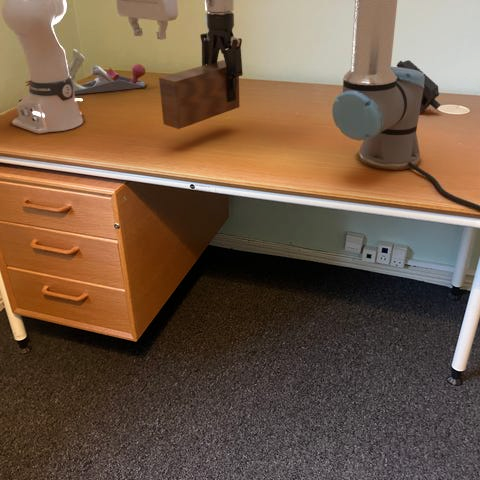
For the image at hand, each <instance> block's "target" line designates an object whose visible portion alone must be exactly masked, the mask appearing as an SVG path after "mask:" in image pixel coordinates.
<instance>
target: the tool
mask: <svg viewBox="0 0 480 480" xmlns="http://www.w3.org/2000/svg"><path fill="white" fill-rule="evenodd" d="M396 67H400V68H408V69H413V70H417V71H420V72H422V73H423V74H424V77H425V80H424V90H423V95H422V101H421V107H420V113H419V114H421V113H423V112H424V111H425V110H427V109H428V108H429V107H430V106H431V107H432V108H433V109H435V110H437V109H439V107H441V105H442V104H441V103H440V102H438V101H437V99H436V98H437V97H439V96H440V92H439V86H438V84H437V83H436V82H434V81H433V79H431V78H430V77H429V76H428V75H427V74H426V73H424V72H423V71H422V69H420V68H419V67H418V66H417V65H416V64H414V62H412V61H411V60H409V59H408V60H404V61H402V60H400V61H398V62H397V64H396Z"/></svg>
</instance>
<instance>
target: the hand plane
mask: <svg viewBox="0 0 480 480" xmlns="http://www.w3.org/2000/svg"><path fill="white" fill-rule="evenodd" d="M85 59H86V58H85V56H84V55H83V54H82V53H81V52H80V51H79V50H77V49H76V48H73V50H72V58H71V62H70V63H69V65H68V71H69V76H71V79H72V82H73V83H72V84H73V92H74V94H75V95H84V94H94V93H104V92H112V91H113V92H114V91H121V90H132V89H142V88H146V83H145V81H143V80H139V78H142V77H144V76H145V75H146V68H145V66H143V65H141V64H139V63H134V64H133V65H132V66H131V73H132V76H131V78H130V77H126V76H123V75H120V74H119V73H117V72H116V71H114V70H113V69H112V68H111V67H109V68H108V70H107V71H105V70H104V69H103V68H102V67H100V65H94V66H92V68H91V70H90V72H91V75H93V76H94V77H97V78H95V79H90V81H89V82H86V83H80V84H78V83H77V82H76V81H75V78H76V74H77V72H78V71H79V69H80V68H81V66H82V65H83V63H84V61H85Z"/></svg>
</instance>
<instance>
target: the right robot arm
mask: <svg viewBox="0 0 480 480" xmlns="http://www.w3.org/2000/svg"><path fill="white" fill-rule="evenodd" d="M234 5H235V4H234V0H204V7H205V12H207V13H205V27H206V28H207V29H208V31H207V32H205V33H200V36H199V37H200V41H201V66H203V65H207V64H211V63H215V62H218V61H219V60H218V59H219V54H220V53H221V54H222V55H223V60H225V64H226V67H227V72H228V76H229V77H227V102H231V101H234V100H236V89H237V77H239V78H240V77H242V76H243V72H244V71H243V60H242V44H243V39H242V38H241V37H238V38H237V37H235V35H234V33H233V30H234V27H235V14H234V12H233V11H234V10H235V6H234ZM397 10H398V0H354V14H353V31H352V43H351V44H352V46H351V64H350V69H349V71H347V72H346V73H345V74H344V75H343V79H342V80H343V81H342V92H340V94H339V95H338V96H336V98H335V99H334V101H333V104H332V109H331V111H332V112H331V113H332V119H333V121H334V125H335V126H336V128H337V129H339V130H340V132H341V134H343V136H345V137H347V138H348V139H351V140H354V141H362V143H361V145H360V147H359V151H358V159H359V160H360V162H362V163H363V164H364V165H367V166H369V167H372V168H374V169H378V170H385V171H403V170H408V169H412V170H414V171H416V172H417V173H419V174H420V175H421V176H424V177H425V178H427V179H428V180H429V181H430V182H432V183H433V185H434V187H435V188H436V190H437V191H438V192H439V193H440V194H442V195H443V196H444V197H446V198H448V199H450V200H452V201H453V202H457V203H459V204H462V205H464V206H467V207H470V208H473V209H475V210H478V211H480V204H478V203H474V202H472V201H469V200H466V199H463V198H461V197H459V196H456V195H454V194H452V193H450V192H448V191H446V190H445V189H444V188H443V187H442V186H441V185H440V182H438V180H437V179H436V178H435V177H434V176H432V175H431V174H429V173H428V172H427V171H425V170H423V169H422V168H420V167H419V166H418V164H419V163H420V158H421V153H420V151H421V150H420V146H419V140H418V135H417V130H418V124H419V119H420V114H421V113H420V107H421V101H422V95H423V90H424V80H425V77H424V74H425V73H424V72H423V71H422V72H423V73H422V72H420V71H417V70H413V69H408V68H400V67H397V66H392V60H393V49H394V39H395V29H396V21H397V19H396V18H397ZM232 72H233V74H232Z"/></svg>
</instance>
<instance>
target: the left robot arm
mask: <svg viewBox="0 0 480 480" xmlns="http://www.w3.org/2000/svg"><path fill="white" fill-rule="evenodd" d="M115 2H116V11H117V14H118V15H119V16H120V17H121V18H128V23H129V25H130V27H131V29H132V30H133V36H134V37H142V36H143V35H144V33H143V28H142V27H140V24H139V22H138V21H139V19H141V20H149V21H156V22H157V23H156V24H157V26H158V31H156V38H157V40H166V39H167V33H166V31H167V29H168V25H169V22H171V21H175V20H177V18H178V15H179V8H178V7H179V6H178V0H115ZM66 13H67V1H66V0H4V1H3V4H2V6H1V14H2V18H3V20H4V23H5V24H6V26H7V27H8V28H9V29H10V30H11V31H13V32H14V34H15V36H16V38H17V40H18V41H19V44H20V45H21V48H22V50H23V53H24V56H25V59H26V64H27V68H28V72H29V76H30V77H29V78H30V80H27V81H25V86H26V87H28V86H29V88H28V93H26V95H25V96H24V97H23V98H22V99H18V102H19V103H18V104H17V113H18V116H17V117H15V118H14V119H13V120H12V121H11V124H12V125H13V126H16V127H18V128H21V129H24V130H26V131H29V132H32V133H35V134H40V135H41V134H46V133H52V132H53V133H54V132H64V131H68V130H72V129H75V128H77V127H79V126H81V125H82V124H83V123H84V118H83V114H82V112H81V111H80V108H79V105H78V101H79V102H82V101H83V98H76V94H74V92H73V84H72V83H73V82H72V79H71V76H69V71H68V67H69V65H68V60H67V55H66V51H65V48H64V47H63V46H62V45H61V44H60V42H59V40H58V38H57V35H56V33H55V29H54V25H56V24H58V23H60V21H61V20H62V19H63V17H64V16H65V14H66Z"/></svg>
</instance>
